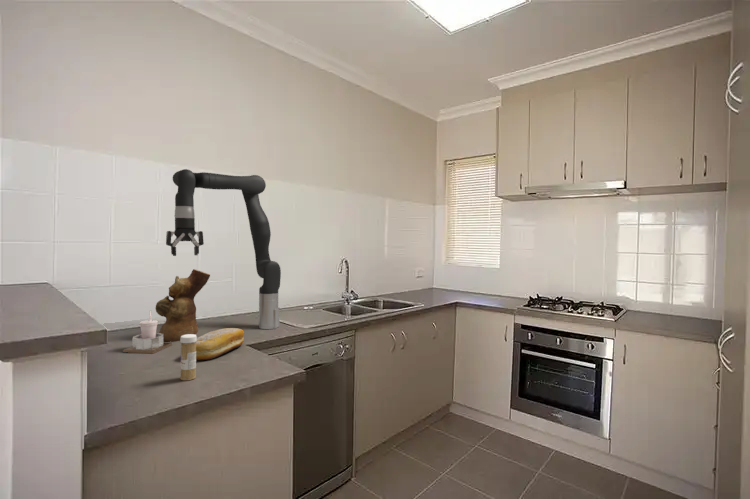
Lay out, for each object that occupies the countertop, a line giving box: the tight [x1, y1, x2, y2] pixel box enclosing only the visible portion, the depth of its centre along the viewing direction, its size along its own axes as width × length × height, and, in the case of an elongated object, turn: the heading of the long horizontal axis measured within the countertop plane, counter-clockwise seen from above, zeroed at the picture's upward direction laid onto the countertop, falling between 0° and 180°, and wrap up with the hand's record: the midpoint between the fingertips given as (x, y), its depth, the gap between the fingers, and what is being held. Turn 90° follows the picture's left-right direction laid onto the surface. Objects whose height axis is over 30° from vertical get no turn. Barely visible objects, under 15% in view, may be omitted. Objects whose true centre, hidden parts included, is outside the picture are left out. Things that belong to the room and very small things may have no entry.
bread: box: [196, 327, 245, 362], centre depth 150 cm, size 13×26×8 cm, turn 170°
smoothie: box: [139, 310, 159, 339], centre depth 153 cm, size 6×6×14 cm
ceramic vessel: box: [155, 268, 211, 343], centre depth 172 cm, size 16×22×30 cm
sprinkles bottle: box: [179, 334, 198, 381], centre depth 120 cm, size 5×5×14 cm
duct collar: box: [122, 332, 173, 354], centre depth 153 cm, size 12×12×5 cm
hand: (185, 255), depth 165 cm, fingers open, 8 cm apart
